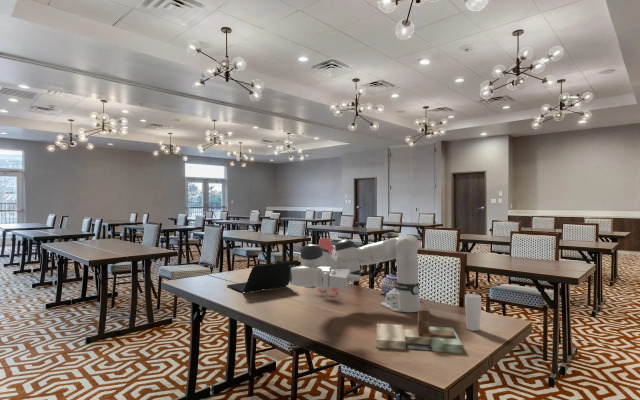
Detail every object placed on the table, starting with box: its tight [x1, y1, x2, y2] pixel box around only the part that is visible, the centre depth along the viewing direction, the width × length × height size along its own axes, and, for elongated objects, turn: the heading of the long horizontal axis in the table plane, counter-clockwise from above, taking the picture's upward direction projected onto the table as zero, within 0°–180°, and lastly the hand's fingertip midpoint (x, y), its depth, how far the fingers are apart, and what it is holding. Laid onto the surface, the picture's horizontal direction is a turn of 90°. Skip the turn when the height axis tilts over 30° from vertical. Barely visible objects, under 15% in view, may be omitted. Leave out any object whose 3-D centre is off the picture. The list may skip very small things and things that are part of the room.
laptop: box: [226, 260, 300, 293], centre depth 245 cm, size 33×38×19 cm
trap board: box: [375, 323, 464, 354], centre depth 152 cm, size 32×20×3 cm, turn 81°
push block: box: [416, 307, 456, 338], centre depth 150 cm, size 14×6×10 cm, turn 81°
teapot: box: [375, 270, 397, 295], centre depth 228 cm, size 25×15×15 cm, turn 48°
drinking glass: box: [464, 293, 482, 332], centre depth 166 cm, size 7×7×15 cm
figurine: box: [317, 236, 338, 295], centre depth 233 cm, size 15×26×35 cm, turn 51°
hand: (360, 278), depth 155 cm, fingers closed
